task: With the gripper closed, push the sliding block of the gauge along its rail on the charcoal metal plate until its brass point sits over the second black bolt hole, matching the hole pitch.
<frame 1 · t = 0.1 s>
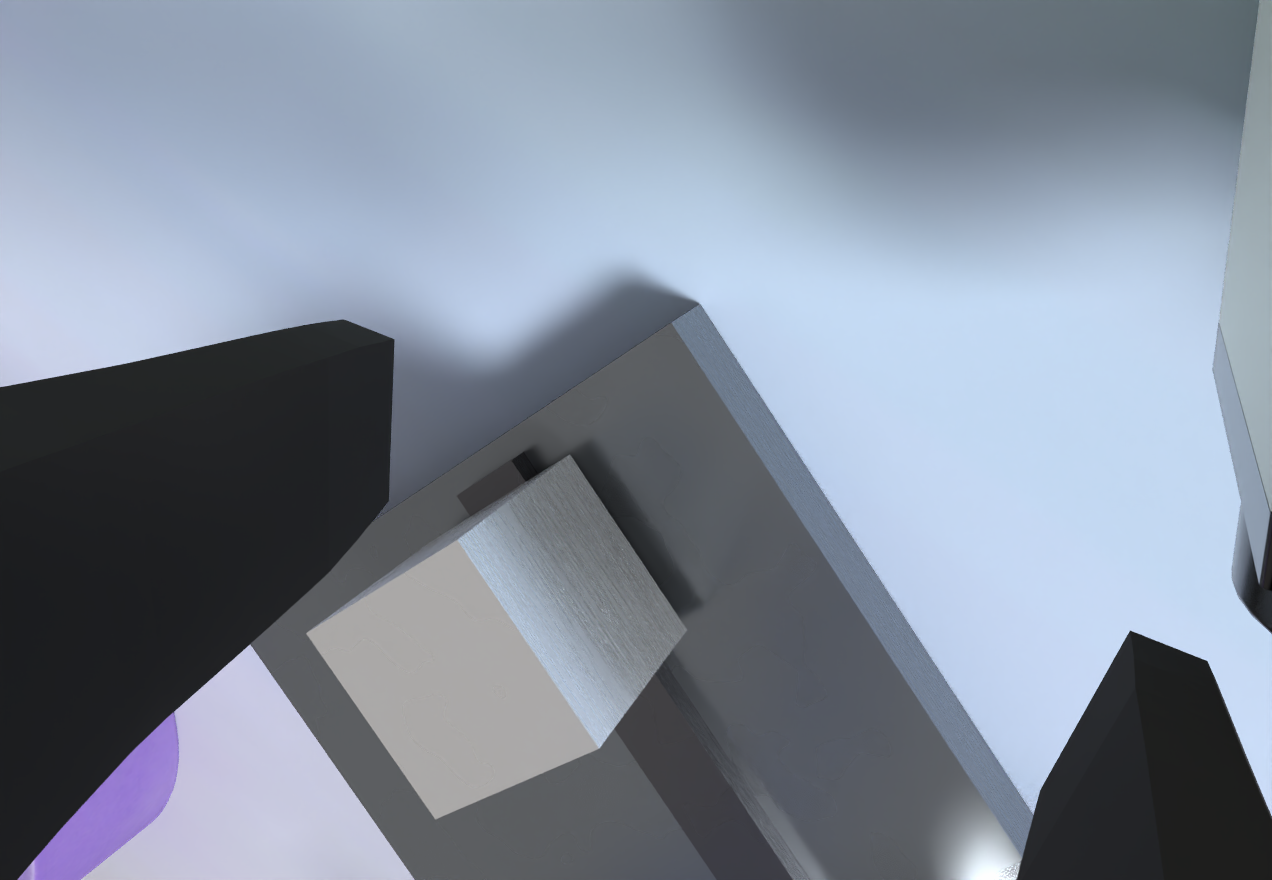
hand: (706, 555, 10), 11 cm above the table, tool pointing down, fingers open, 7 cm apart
tape roll: (35, 667, 34), on the table
bolt plate: (680, 798, 25), on the table
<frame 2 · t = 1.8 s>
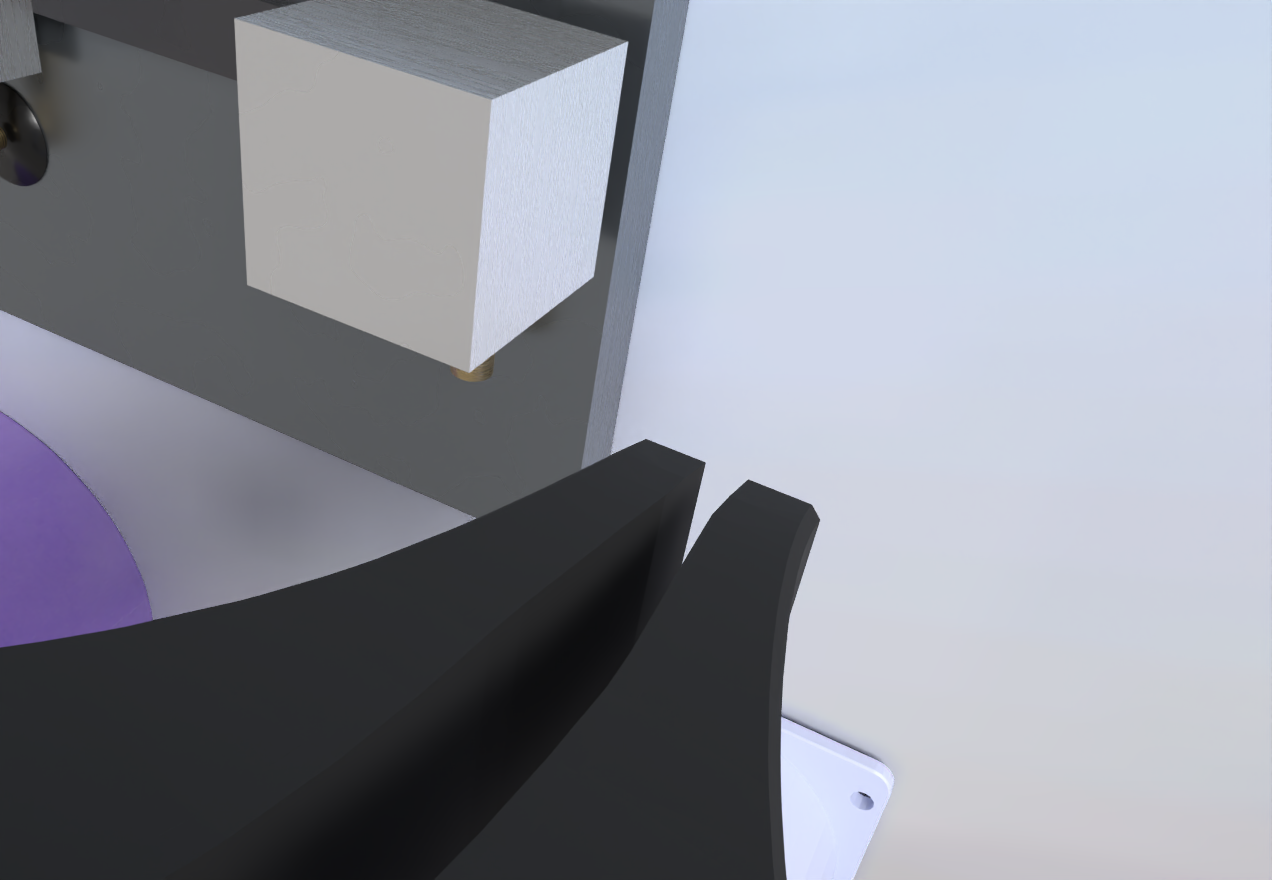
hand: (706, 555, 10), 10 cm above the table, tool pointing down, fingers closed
tape roll: (23, 544, 37), on the table
sliding block: (440, 234, 18), point 4 cm above the table, slide at 5.0 cm
bolt plate: (264, 103, 23), on the table
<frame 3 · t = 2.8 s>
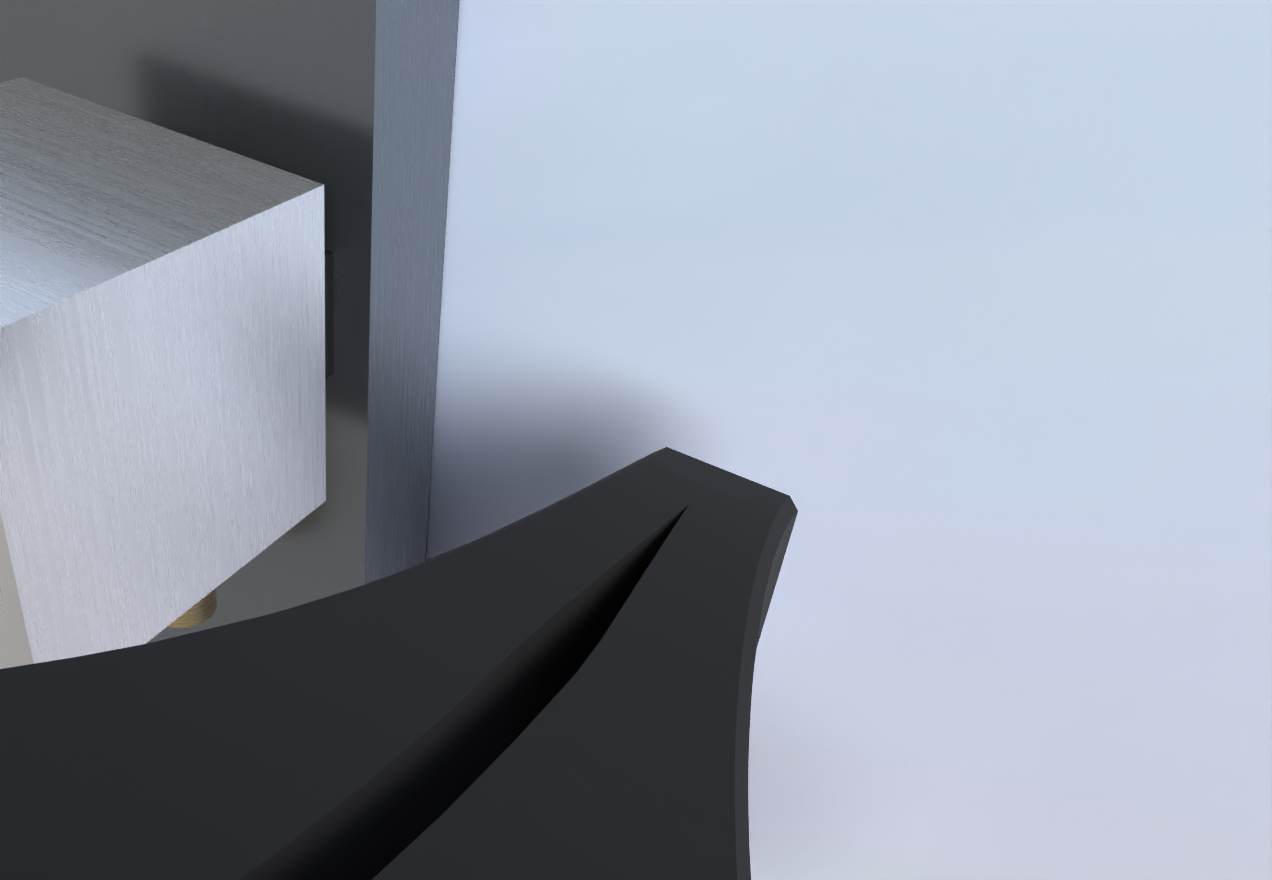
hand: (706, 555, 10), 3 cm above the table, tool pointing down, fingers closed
sliding block: (68, 460, 12), point 4 cm above the table, slide at 5.0 cm
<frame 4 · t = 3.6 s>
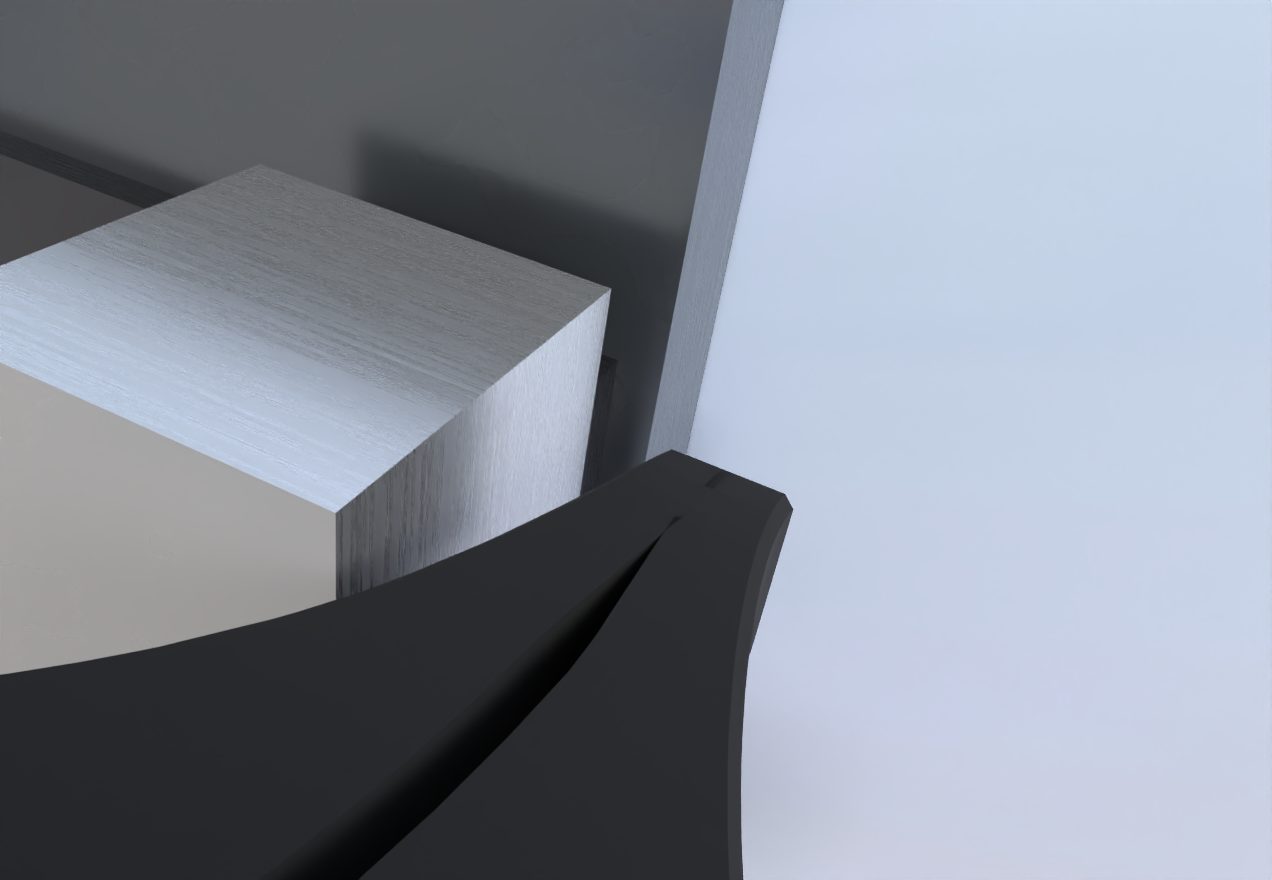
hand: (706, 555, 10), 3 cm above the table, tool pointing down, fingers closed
sliding block: (312, 577, 11), point 4 cm above the table, slide at 4.6 cm, touching gripper
bolt plate: (125, 290, 17), on the table
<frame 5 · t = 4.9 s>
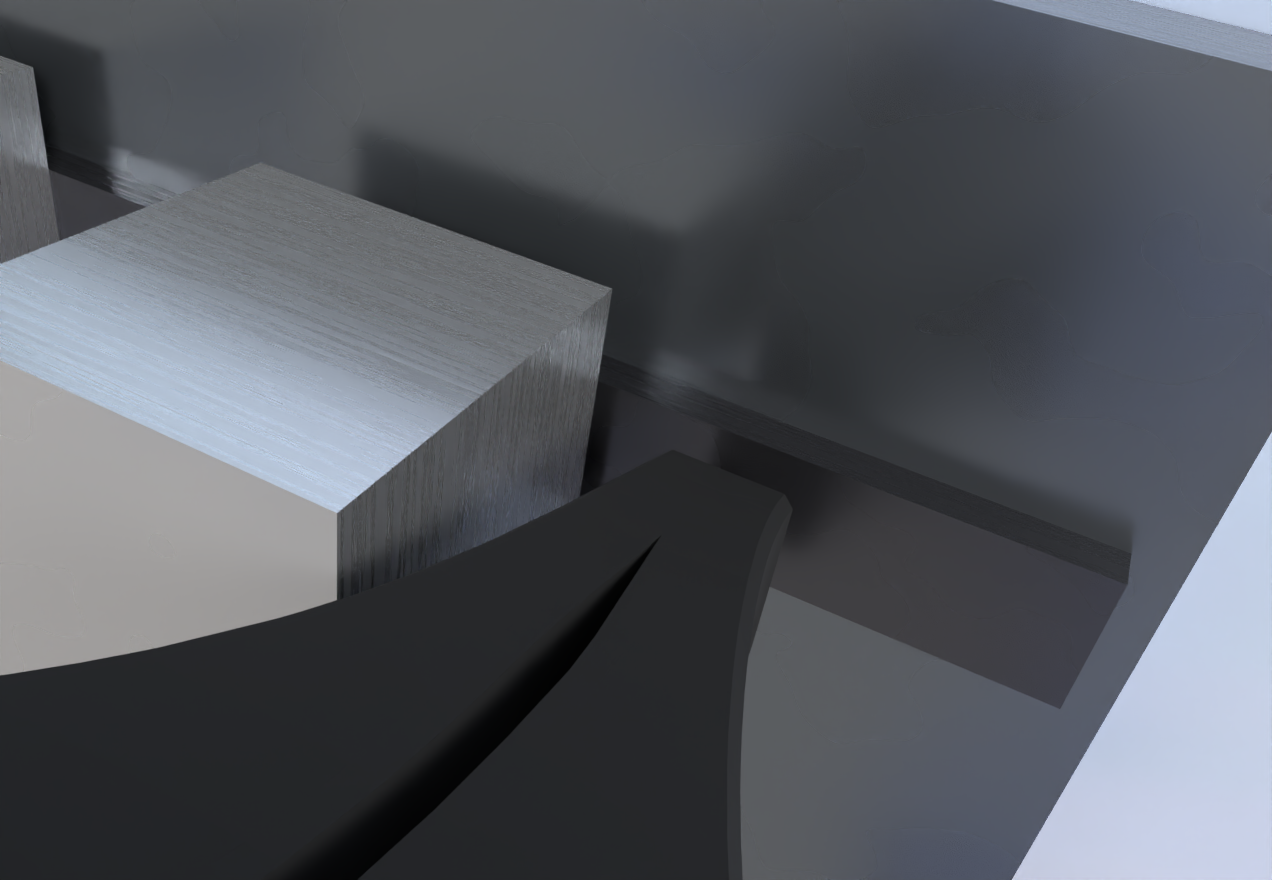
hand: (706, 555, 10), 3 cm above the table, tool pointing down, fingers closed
sliding block: (311, 576, 11), point 4 cm above the table, slide at -0.6 cm, touching gripper
bolt plate: (421, 410, 15), on the table
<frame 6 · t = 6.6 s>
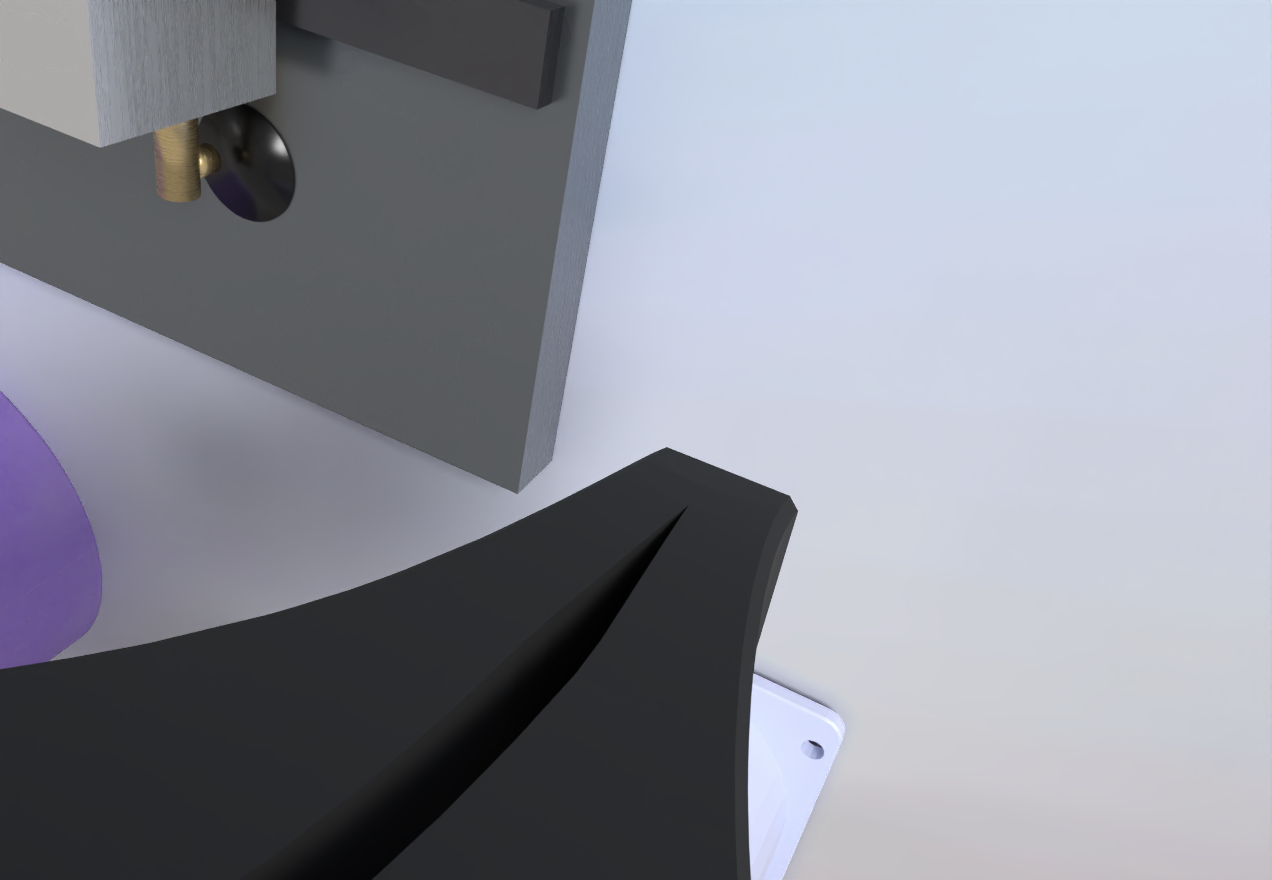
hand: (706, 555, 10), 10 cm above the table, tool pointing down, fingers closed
sliding block: (110, 36, 19), point 4 cm above the table, slide at -0.6 cm
bolt plate: (216, 21, 23), on the table
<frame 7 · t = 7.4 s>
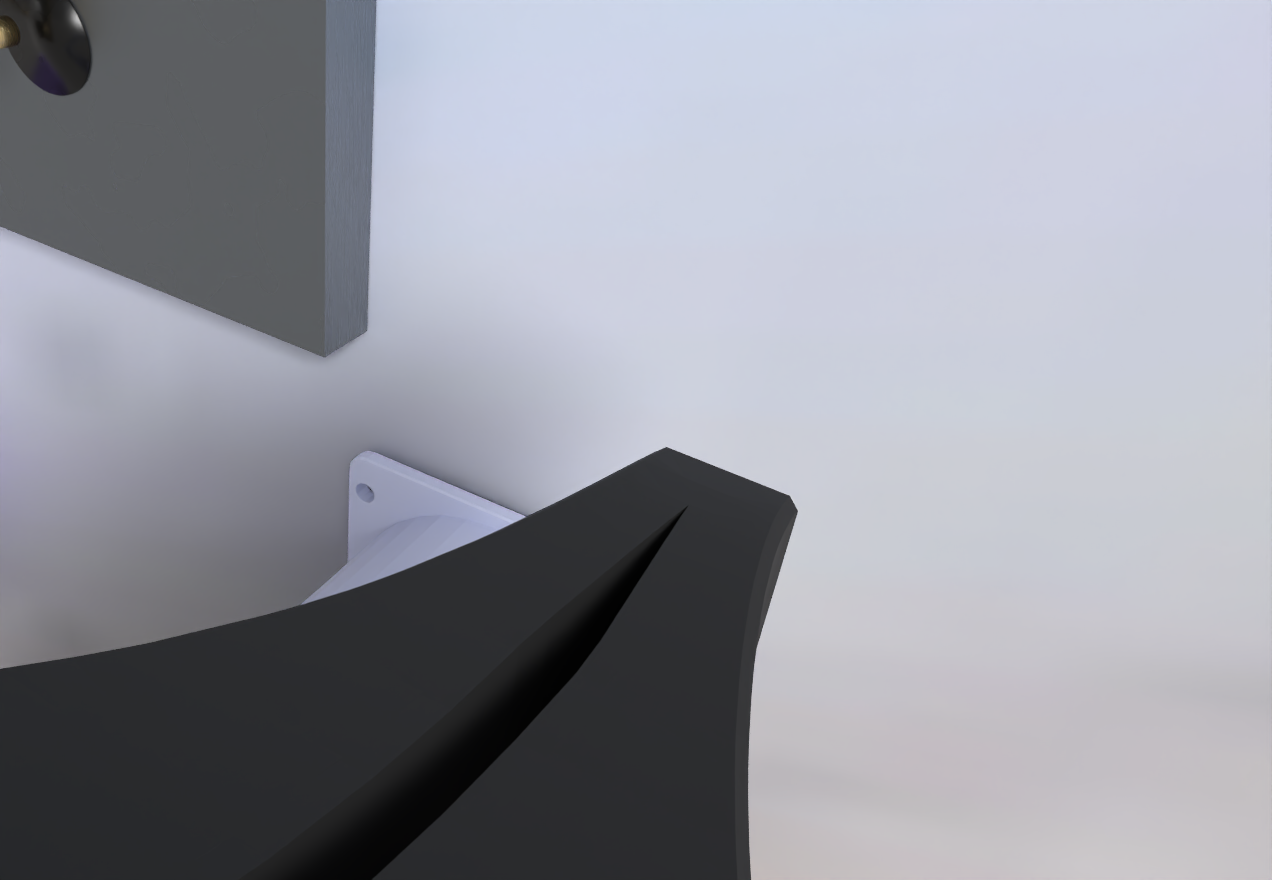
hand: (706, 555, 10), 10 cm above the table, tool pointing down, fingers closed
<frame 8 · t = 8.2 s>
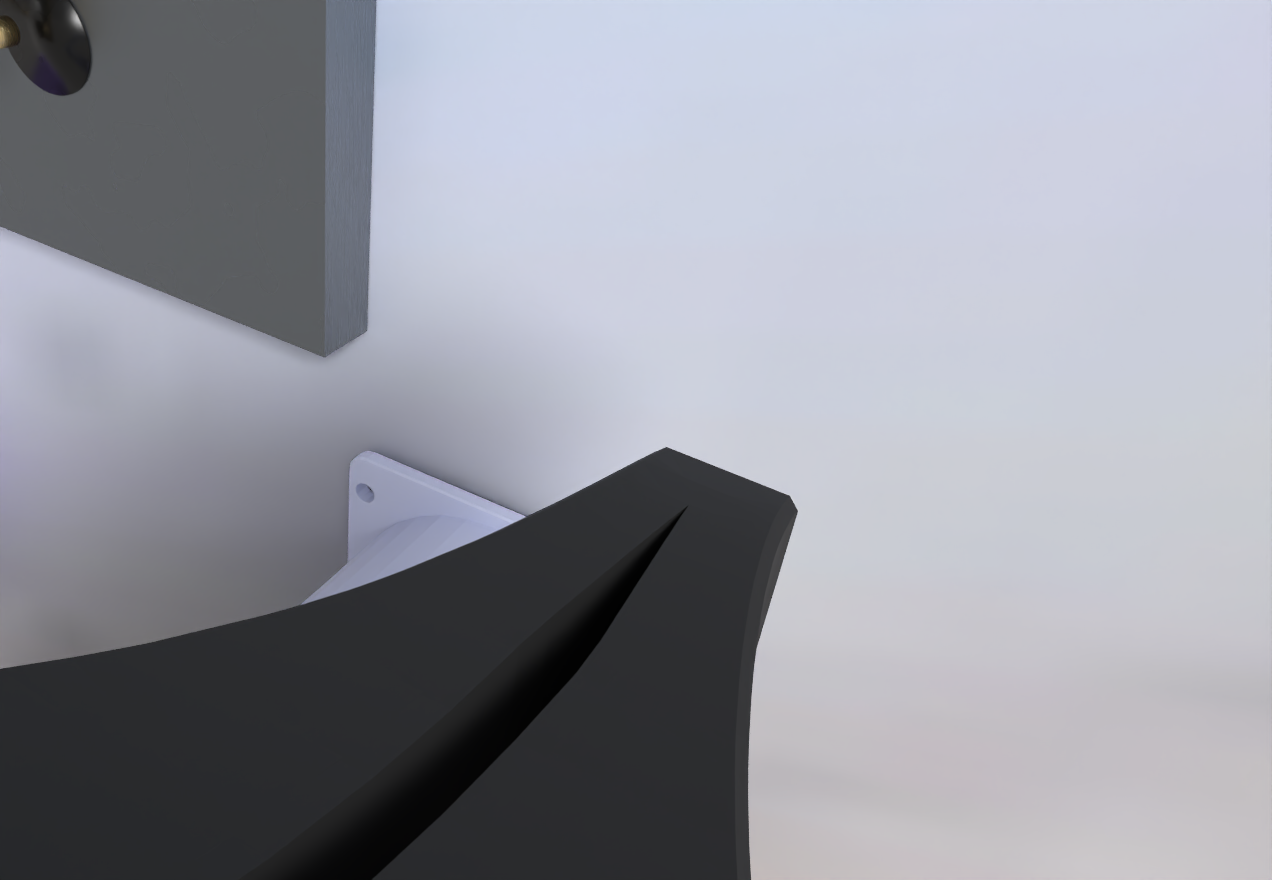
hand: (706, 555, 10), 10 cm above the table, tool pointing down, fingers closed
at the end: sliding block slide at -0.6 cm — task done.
